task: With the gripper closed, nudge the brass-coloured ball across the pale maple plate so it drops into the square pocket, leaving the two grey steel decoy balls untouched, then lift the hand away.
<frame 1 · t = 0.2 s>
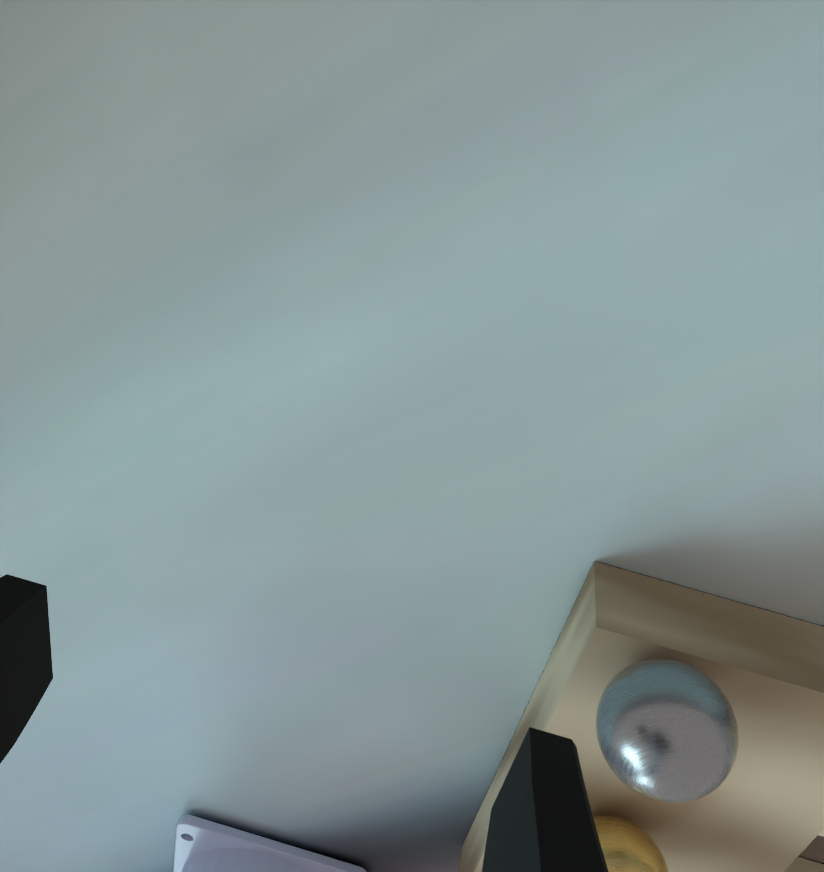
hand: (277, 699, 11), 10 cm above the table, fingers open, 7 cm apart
plate: (741, 793, 25), on the table
decoy b: (665, 728, 18), point 4 cm above the table, touching plate
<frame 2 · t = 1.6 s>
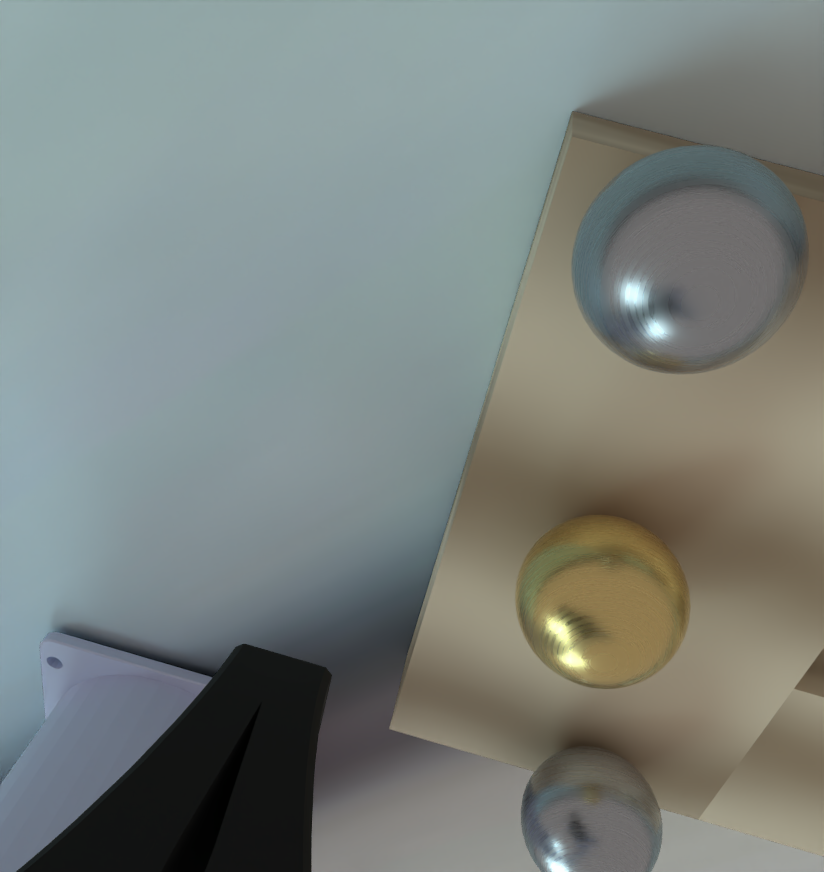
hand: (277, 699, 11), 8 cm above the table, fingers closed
plate: (785, 531, 18), on the table
decoy b: (684, 263, 11), point 4 cm above the table, touching plate
ball: (600, 599, 15), point 4 cm above the table, touching plate
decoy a: (590, 820, 18), point 4 cm above the table, touching plate
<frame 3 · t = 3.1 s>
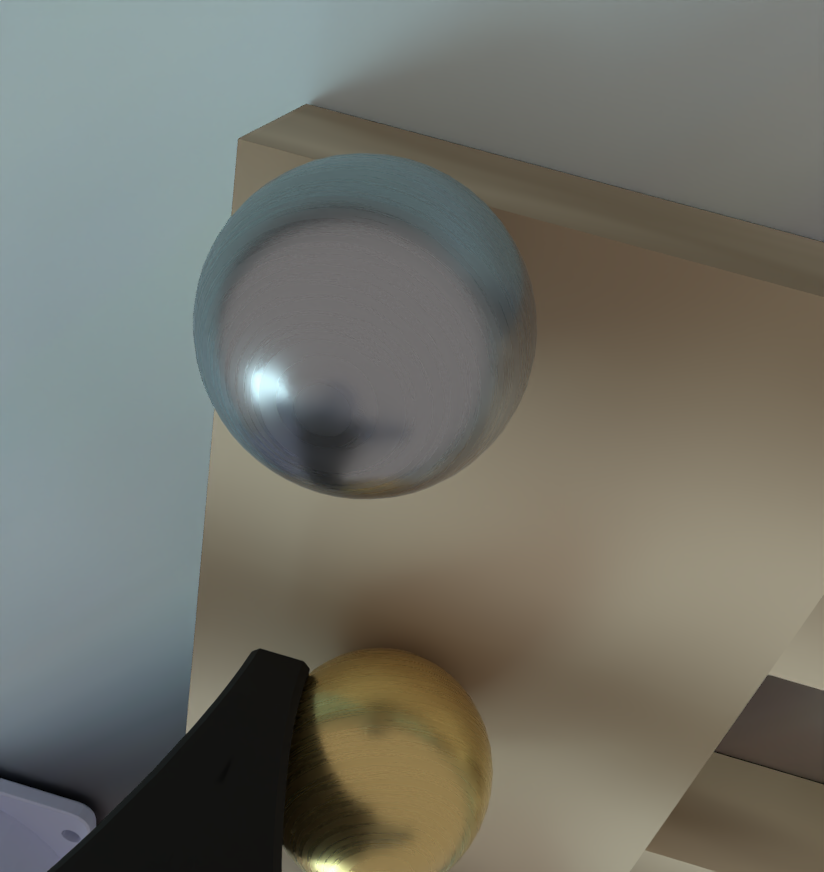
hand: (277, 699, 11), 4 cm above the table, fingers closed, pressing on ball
plate: (643, 640, 14), on the table
decoy b: (367, 331, 7), point 4 cm above the table, touching plate
ball: (377, 766, 11), point 4 cm above the table, tilted 13°, touching gripper, plate
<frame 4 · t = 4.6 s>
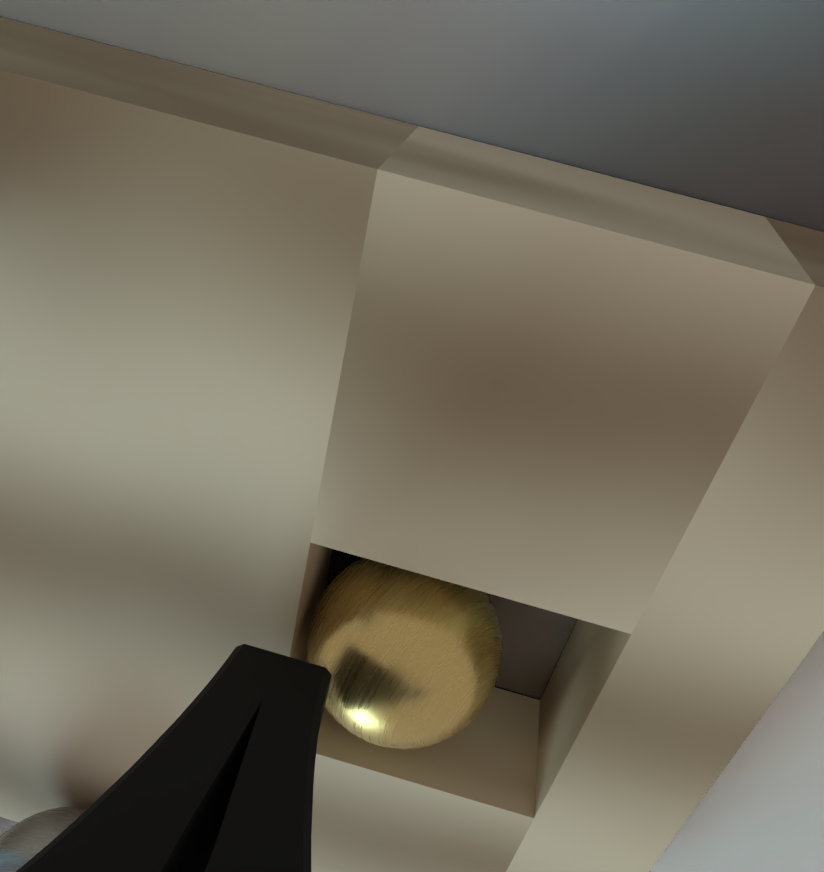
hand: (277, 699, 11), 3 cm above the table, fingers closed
plate: (295, 539, 14), on the table
ball: (404, 645, 13), point 2 cm above the table, tilted 120°
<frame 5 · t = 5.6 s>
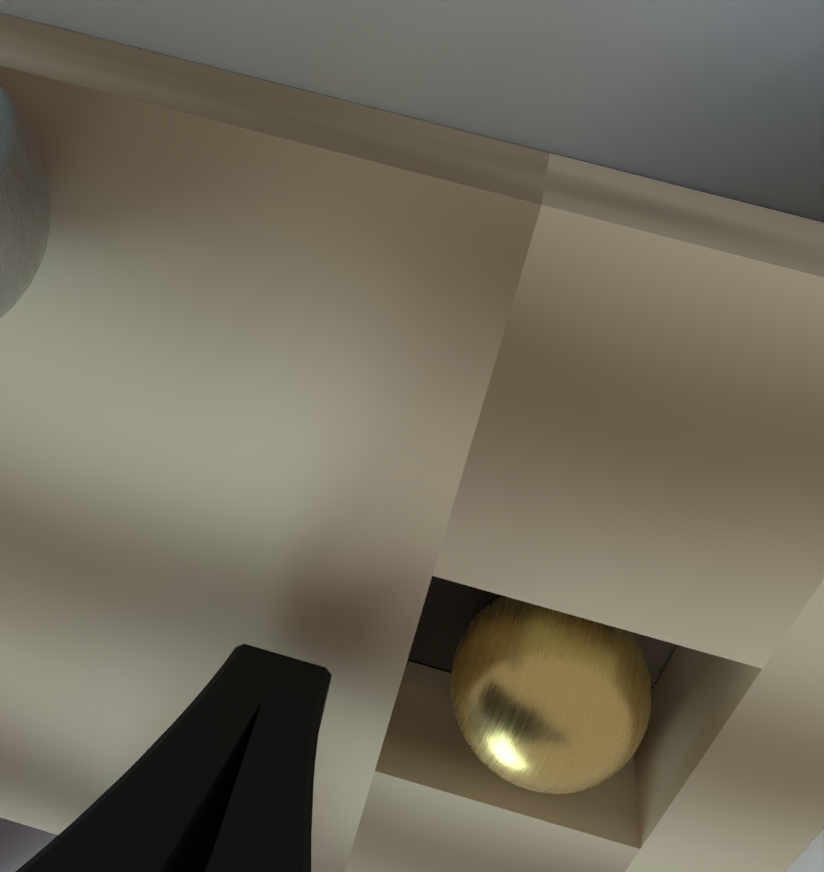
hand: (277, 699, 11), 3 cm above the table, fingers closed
plate: (389, 564, 14), on the table
ball: (548, 685, 13), point 2 cm above the table, tilted 97°
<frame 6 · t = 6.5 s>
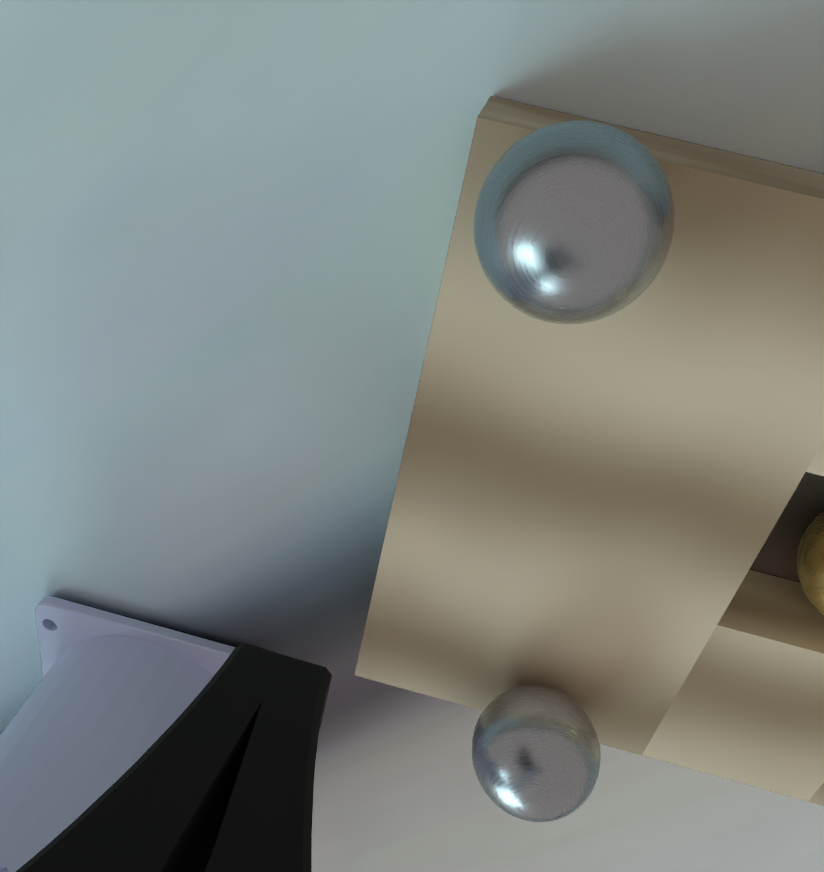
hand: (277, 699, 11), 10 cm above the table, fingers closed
plate: (711, 482, 19), on the table
decoy b: (571, 225, 13), point 4 cm above the table, touching plate
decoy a: (535, 751, 20), point 4 cm above the table, touching plate
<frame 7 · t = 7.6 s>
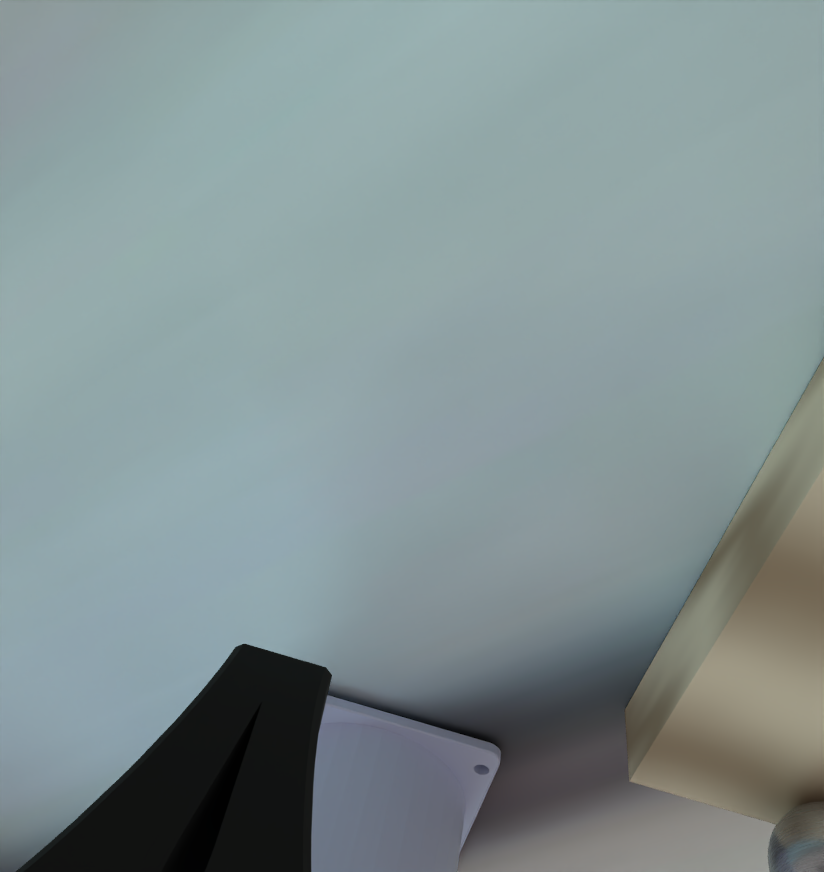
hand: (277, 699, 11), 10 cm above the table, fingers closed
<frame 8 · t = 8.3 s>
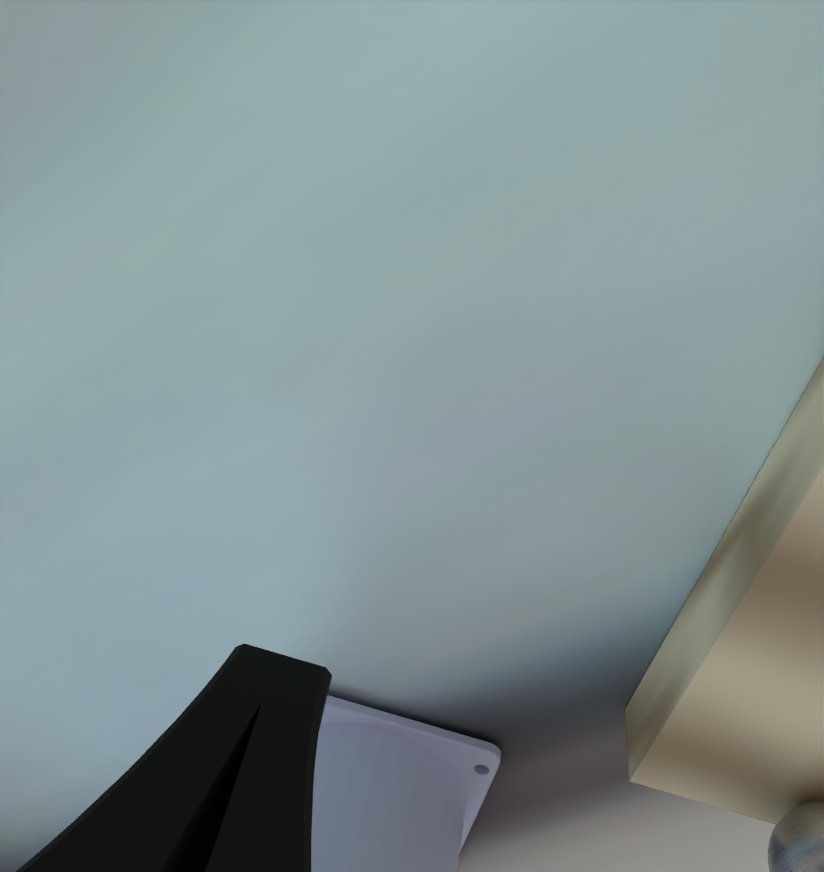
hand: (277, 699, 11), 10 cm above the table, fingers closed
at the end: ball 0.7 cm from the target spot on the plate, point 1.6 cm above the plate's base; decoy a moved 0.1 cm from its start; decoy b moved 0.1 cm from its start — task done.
